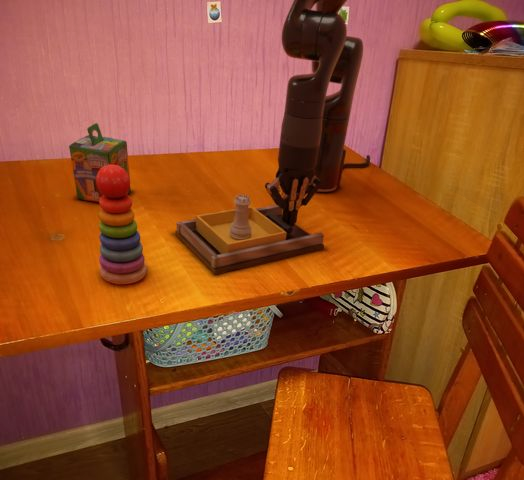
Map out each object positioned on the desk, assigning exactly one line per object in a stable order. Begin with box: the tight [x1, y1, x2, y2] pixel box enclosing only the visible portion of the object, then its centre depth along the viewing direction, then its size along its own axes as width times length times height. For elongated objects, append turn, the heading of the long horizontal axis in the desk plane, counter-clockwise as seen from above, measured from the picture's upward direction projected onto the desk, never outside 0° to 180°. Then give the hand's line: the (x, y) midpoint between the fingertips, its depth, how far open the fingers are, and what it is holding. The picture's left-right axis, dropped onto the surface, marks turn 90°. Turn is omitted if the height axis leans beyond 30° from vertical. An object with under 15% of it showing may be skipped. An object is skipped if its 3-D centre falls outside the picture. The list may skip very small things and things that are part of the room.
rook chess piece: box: [229, 193, 252, 240], centre depth 94 cm, size 4×4×8 cm
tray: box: [195, 205, 293, 254], centre depth 97 cm, size 16×13×3 cm
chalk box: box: [68, 122, 132, 203], centre depth 106 cm, size 9×9×15 cm
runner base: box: [175, 204, 325, 275], centre depth 98 cm, size 25×17×3 cm
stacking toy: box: [96, 165, 148, 285], centre depth 80 cm, size 8×8×19 cm
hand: (288, 225), depth 102 cm, fingers closed
